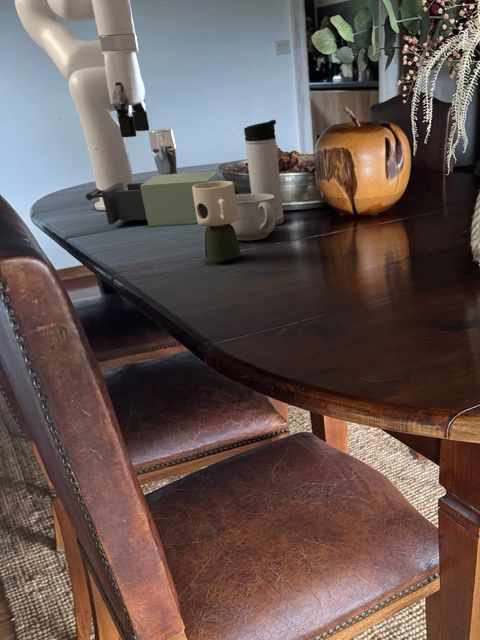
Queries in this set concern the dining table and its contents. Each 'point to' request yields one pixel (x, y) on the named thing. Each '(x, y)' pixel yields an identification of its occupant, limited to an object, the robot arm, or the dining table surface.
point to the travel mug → (264, 163)
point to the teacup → (254, 216)
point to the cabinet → (173, 197)
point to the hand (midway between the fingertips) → (136, 133)
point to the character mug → (217, 218)
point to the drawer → (121, 202)
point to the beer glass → (163, 151)
